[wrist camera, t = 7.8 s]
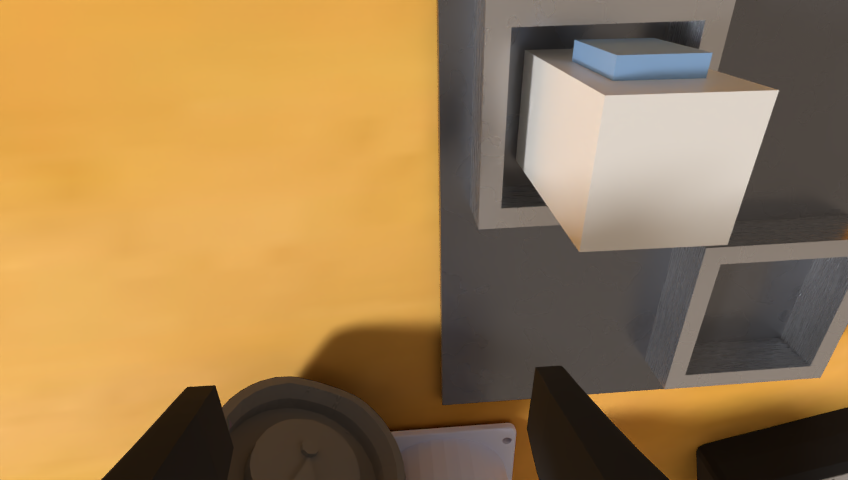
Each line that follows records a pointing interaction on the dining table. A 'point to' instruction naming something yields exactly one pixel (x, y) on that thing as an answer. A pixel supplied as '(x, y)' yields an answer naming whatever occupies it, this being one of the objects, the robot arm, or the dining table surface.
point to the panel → (641, 268)
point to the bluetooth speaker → (308, 434)
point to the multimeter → (781, 452)
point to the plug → (639, 142)
